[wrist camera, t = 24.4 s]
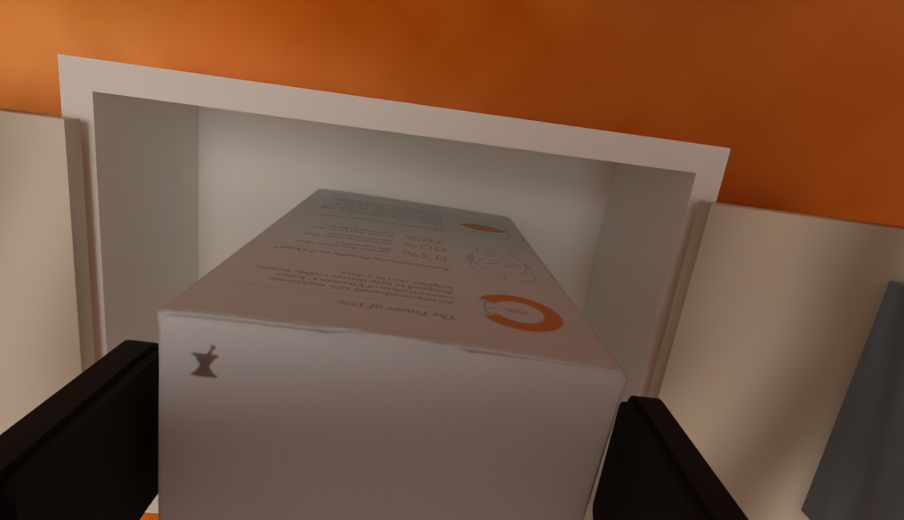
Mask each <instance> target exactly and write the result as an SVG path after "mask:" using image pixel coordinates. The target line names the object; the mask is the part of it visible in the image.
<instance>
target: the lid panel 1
mask: <svg viewBox="0 0 904 520" xmlns="http://www.w3.org/2000/svg"><path fill="white" fill-rule="evenodd" d="M94 363H95V353H94V337H93V321H92V305H91V289H90V273H89V257H88V241H87V225H86V209H85V193H84V177H83V161H82V145H81V129H80V119H77V118H69V117H62V116H54V115H47V114H39V113H31V112H24V111H16V110H8V109H1V108H0V435H1V434H2V433H3V432H4V431H6V430H7V429H8V428H10V427H11V426H12V425H14V424H15V423H16V422H18V421H19V420H20V419H22V418H23V417H24V416H26V415H27V414H28V413H30V412H31V411H32V410H34V409H35V408H36V407H37V406H39V405H40V404H41V403H43V402H44V401H45V400H47V399H48V398H49V397H51V396H52V395H53V394H55V393H56V392H57V391H59V390H60V389H61V388H63V387H64V386H65V385H66V384H68V383H69V382H70V381H72V380H73V379H74V378H76V377H77V376H78V375H80V374H81V373H82V372H84V371H85V370H86V369H88V368H89V367H90V366H92V365H93V364H94Z"/></svg>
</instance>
